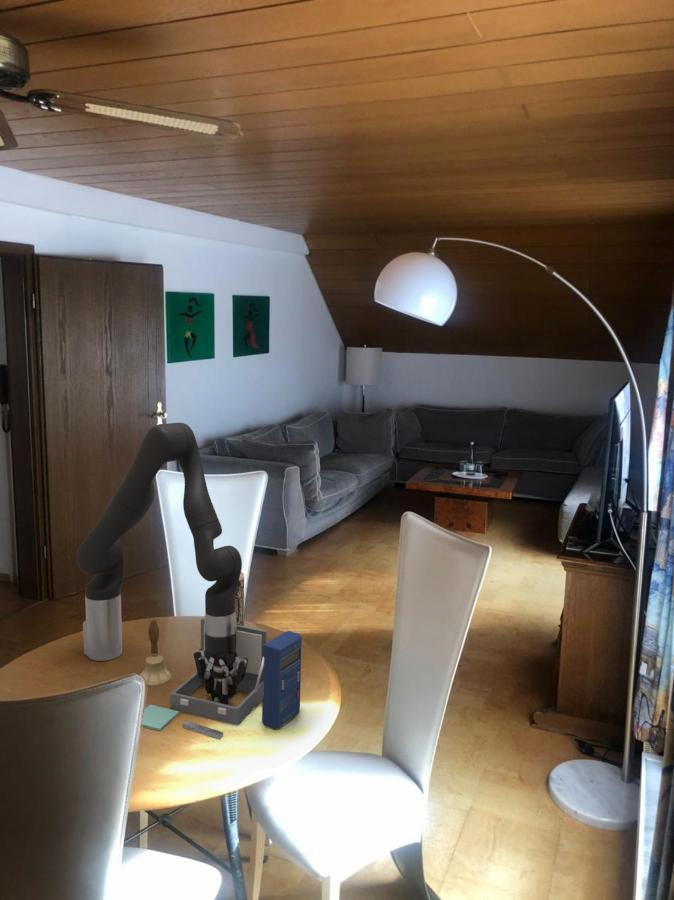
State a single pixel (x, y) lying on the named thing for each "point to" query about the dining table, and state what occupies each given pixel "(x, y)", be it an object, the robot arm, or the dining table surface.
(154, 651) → the hand bell
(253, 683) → the case
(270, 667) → the electronic device
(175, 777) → the dining table surface
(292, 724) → the dining table surface
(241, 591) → the brown bark-textured cylinder
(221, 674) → the push button
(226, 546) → the robot arm
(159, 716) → the pad
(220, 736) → the rod
